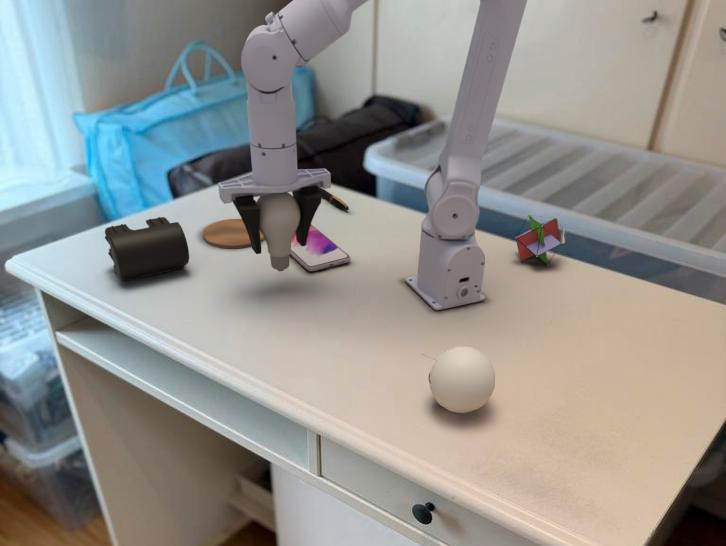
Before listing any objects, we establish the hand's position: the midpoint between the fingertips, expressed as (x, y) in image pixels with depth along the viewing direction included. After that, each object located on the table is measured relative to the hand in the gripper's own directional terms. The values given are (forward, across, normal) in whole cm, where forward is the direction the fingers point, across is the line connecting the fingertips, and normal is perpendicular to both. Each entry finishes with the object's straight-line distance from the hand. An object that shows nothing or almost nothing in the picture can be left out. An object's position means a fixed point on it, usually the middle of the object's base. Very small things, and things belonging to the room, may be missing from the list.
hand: (279, 246), depth 98 cm
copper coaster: (+6, +1, -19) cm, 20 cm away
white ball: (+6, -9, +33) cm, 35 cm away
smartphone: (+6, -8, -10) cm, 14 cm away
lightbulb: (+4, 0, 0) cm, 4 cm away
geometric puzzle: (+6, -39, +6) cm, 40 cm away
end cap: (+6, +16, -11) cm, 20 cm away
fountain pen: (+6, -18, -27) cm, 33 cm away
